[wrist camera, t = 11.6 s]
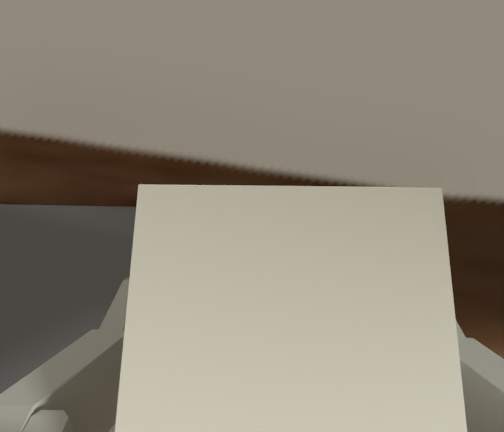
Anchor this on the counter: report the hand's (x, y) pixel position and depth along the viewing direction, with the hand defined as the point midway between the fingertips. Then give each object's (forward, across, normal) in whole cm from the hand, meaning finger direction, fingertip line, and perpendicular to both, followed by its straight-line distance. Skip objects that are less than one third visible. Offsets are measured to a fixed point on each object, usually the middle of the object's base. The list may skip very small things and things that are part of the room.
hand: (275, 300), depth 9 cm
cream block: (+3, 0, +4) cm, 5 cm away
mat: (+10, +14, +11) cm, 21 cm away
